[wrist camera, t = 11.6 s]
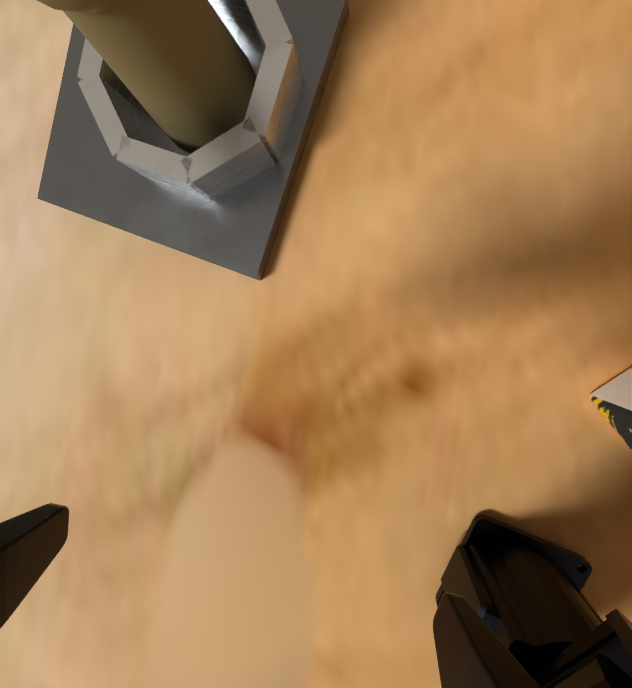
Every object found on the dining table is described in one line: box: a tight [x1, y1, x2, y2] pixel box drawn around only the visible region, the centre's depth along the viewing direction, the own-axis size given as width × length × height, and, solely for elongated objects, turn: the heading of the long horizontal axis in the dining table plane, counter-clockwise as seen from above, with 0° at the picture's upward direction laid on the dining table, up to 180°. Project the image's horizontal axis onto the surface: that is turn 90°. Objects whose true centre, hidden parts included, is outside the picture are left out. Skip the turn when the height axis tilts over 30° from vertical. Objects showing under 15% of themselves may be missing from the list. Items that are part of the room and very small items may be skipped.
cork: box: [37, 0, 257, 154], centre depth 12 cm, size 6×6×11 cm
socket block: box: [38, 0, 349, 280], centre depth 17 cm, size 15×15×4 cm
